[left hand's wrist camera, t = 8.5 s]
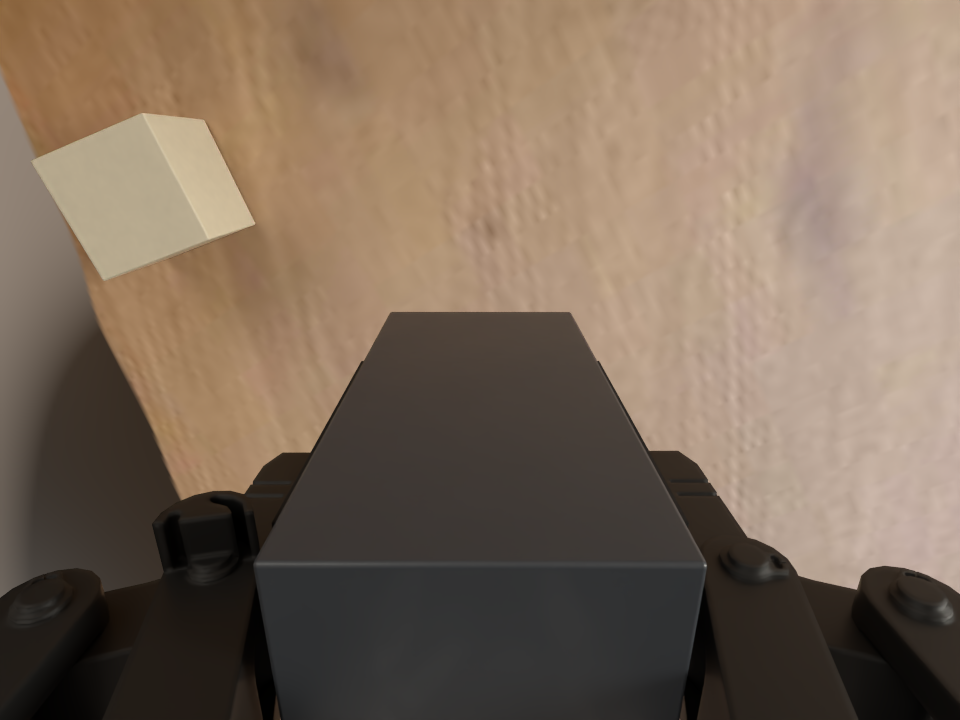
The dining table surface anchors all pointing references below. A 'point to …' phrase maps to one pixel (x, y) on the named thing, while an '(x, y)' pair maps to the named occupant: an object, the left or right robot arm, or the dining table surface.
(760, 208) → the dining table surface
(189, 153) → the cream block
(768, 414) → the dining table surface
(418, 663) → the plank
